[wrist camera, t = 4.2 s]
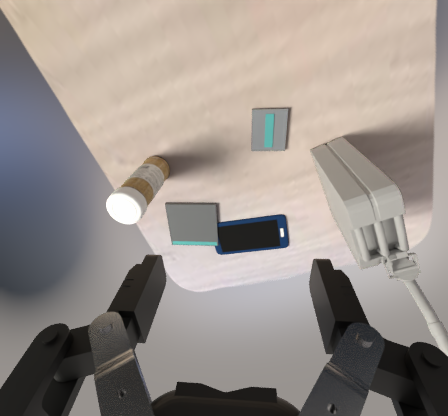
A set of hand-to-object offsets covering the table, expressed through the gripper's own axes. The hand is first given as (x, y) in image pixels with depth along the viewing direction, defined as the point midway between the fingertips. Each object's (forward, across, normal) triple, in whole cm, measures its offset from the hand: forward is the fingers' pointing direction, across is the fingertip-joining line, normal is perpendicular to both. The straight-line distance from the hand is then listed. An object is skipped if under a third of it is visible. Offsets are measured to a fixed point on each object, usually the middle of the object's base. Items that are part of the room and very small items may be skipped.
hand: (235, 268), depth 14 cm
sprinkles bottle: (+29, +14, +6) cm, 33 cm away
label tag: (+29, -4, 0) cm, 29 cm away
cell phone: (+29, -1, +20) cm, 35 cm away
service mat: (+29, +9, +17) cm, 35 cm away
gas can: (+29, -15, +9) cm, 34 cm away
